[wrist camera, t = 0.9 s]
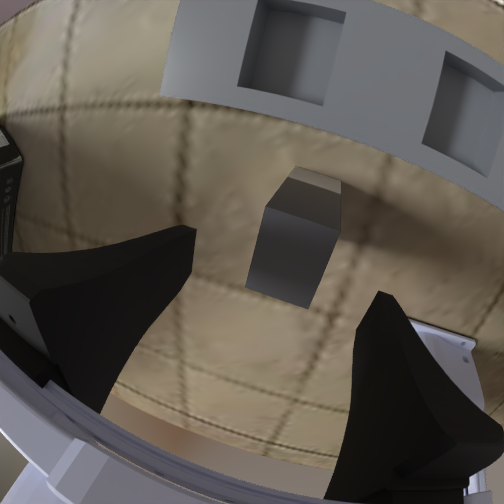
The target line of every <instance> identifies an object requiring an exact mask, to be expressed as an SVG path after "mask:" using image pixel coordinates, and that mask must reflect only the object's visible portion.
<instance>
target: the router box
mask: <svg viewBox="0 0 504 504" xmlns="http://www.w3.org/2000/svg"><path fill="white" fill-rule="evenodd" d="M3 131H4V129H3V128H2V127H1V126H0V257H2V256H3V255H5V254H6V253H8V252H11V250H12V247H11V246H12V234H13V222H14V212H15V204H16V197H17V190H18V184H19V178H20V173H21V168H22V163H23V160H22V158H21V156H20V154H19V153H18V150H17V148H16V147H15V145H14V144H13V141H12V139H11V138H10V137H9V135H8V134H7V133H6V132H5V131H4V132H3Z"/></svg>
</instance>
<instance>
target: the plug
mask: <svg viewBox="0 0 504 504" xmlns="http://www.w3.org/2000/svg"><path fill="white" fill-rule="evenodd" d="M340 229H341V181H339V180H337V179H334V178H331V177H328V176H325V175H322V174H319V173H316V172H313V171H309V170H306V169H303V168H300V167H297V166H295V168H294V169H293V170H292V172H291V173H290V174H289V176H288V177H287V178H286V180H285V181H284V182H283V184H282V185H281V186H280V188H279V189H278V190H277V192H276V193H275V194H274V196H273V197H272V198H271V200H270V201H269V202H268V204H267V205H266V206H265V210H264V214H263V218H262V222H261V226H260V230H259V234H258V238H257V242H256V245H255V249H254V253H253V257H252V261H251V265H250V269H249V273H248V277H247V281H246V285H245V288H248V289H251V290H254V291H257V292H259V293H262V294H265V295H268V296H271V297H274V298H277V299H279V300H282V301H285V302H288V303H291V304H294V305H297V306H300V307H303V308H306V309H308V308H309V306H310V304H311V302H312V299H313V297H314V295H315V292H316V290H317V288H318V285H319V283H320V281H321V278H322V276H323V274H324V271H325V269H326V266H327V264H328V261H329V259H330V257H331V254H332V252H333V249H334V247H335V244H336V242H337V239H338V236H339V234H340Z"/></svg>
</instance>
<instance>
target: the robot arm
mask: <svg viewBox="0 0 504 504" xmlns="http://www.w3.org/2000/svg"><path fill="white" fill-rule="evenodd" d="M196 230H197V229H194V228H191V227H188V226H185V225H178V226H174V227H171V228H167V229H164V230H161V231H158V232H155V233H151V234H148V235H145V236H142V237H139V238H135V239H131V240H128V241H124V242H121V243H117V244H113V245H109V246H104V247H99V248H93V249H87V250H79V251H71V252H60V253H23V252H8V253H6V254H5V255H3V256H2V257H0V431H1V433H3V435H4V436H5V437H6V438H7V439H8V440H9V441H10V442H11V443H12V445H13V446H14V447H15V448H16V449H17V450H18V451H19V452H20V453H21V454H22V455H23V456H24V457H25V458H26V459H27V460H28V461H29V463H28V464H27V466H26V467H25V469H24V470H23V471H22V473H21V474H20V476H19V477H18V479H17V480H16V482H15V483H14V484H13V486H12V487H11V489H10V490H9V492H8V493H7V495H6V496H5V498H4V499H3V501H2V502H1V504H224V503H220V502H217V501H215V500H212V499H209V498H206V497H203V496H201V495H198V494H195V493H193V492H190V491H188V490H185V489H183V488H181V487H178V486H176V485H174V484H171V483H169V482H167V481H164V480H162V479H160V478H158V477H156V476H154V475H152V474H150V473H148V472H146V471H144V470H142V469H140V468H138V467H136V466H135V465H133V464H131V463H129V462H127V461H125V460H124V459H122V458H120V457H118V456H117V455H115V454H113V453H111V452H110V451H108V450H106V449H104V448H103V447H101V446H99V445H98V443H96V441H97V442H99V443H100V444H102V445H104V446H105V447H107V448H108V449H110V450H112V451H113V452H115V453H117V454H118V455H120V456H122V457H123V458H125V459H127V460H129V461H131V462H132V463H134V464H136V465H138V466H140V467H142V468H144V469H146V470H148V471H150V472H152V473H154V474H156V475H158V476H160V477H162V478H164V479H167V480H169V481H171V482H173V483H176V484H178V485H180V486H183V487H185V488H188V489H190V490H192V491H195V492H198V493H200V494H203V495H206V496H208V497H211V498H214V499H217V500H220V501H223V502H226V503H229V504H492V491H491V490H489V491H486V472H485V468H486V467H488V466H489V465H491V464H492V463H493V462H495V461H496V460H497V459H498V458H499V457H501V455H502V454H503V452H504V431H503V427H502V426H501V425H500V424H498V423H497V422H496V421H495V420H493V419H492V418H491V417H490V416H488V415H487V414H486V413H484V397H483V393H482V389H481V385H480V381H479V377H478V374H477V370H476V367H475V364H474V360H473V357H472V354H471V350H472V349H473V348H474V347H475V345H476V343H475V340H474V339H471V338H467V337H464V336H461V335H458V334H455V333H452V332H448V331H445V330H442V329H439V328H436V327H433V326H430V325H427V324H424V323H420V322H417V321H414V320H411V319H408V318H407V316H406V314H405V313H404V311H403V310H402V308H401V306H400V305H399V303H398V302H397V301H396V299H395V298H394V297H393V295H390V294H387V293H384V292H381V291H378V292H377V294H376V296H375V298H374V300H373V301H372V303H371V305H370V307H369V308H368V310H367V312H366V314H365V315H364V317H363V319H362V321H361V322H360V324H359V326H358V327H357V329H356V335H355V341H354V348H353V364H352V389H351V403H350V411H349V416H348V421H347V426H346V431H345V435H344V439H343V443H342V447H341V450H340V454H339V457H338V460H337V463H336V467H335V470H334V473H333V476H332V478H331V481H330V483H329V486H328V488H327V492H326V494H325V496H324V498H323V499H319V498H313V497H307V496H301V495H297V494H292V493H287V492H283V491H279V490H275V489H270V488H266V487H263V486H259V485H256V484H252V483H249V482H245V481H242V480H239V479H236V478H233V477H230V476H227V475H224V474H221V473H218V472H215V471H213V470H210V469H207V468H204V467H202V466H199V465H197V464H195V463H192V462H190V461H187V460H185V459H183V458H180V457H178V456H176V455H174V454H171V453H169V452H167V451H165V450H163V449H161V448H159V447H157V446H154V445H153V444H151V443H149V442H147V441H145V440H143V439H141V438H139V437H137V436H135V435H133V434H131V433H130V432H128V431H126V430H124V429H123V428H121V427H119V426H118V425H116V424H114V423H112V422H111V421H109V420H108V419H106V418H104V417H103V416H101V415H100V413H101V410H102V408H103V406H104V404H105V402H106V400H107V397H108V395H109V393H110V391H111V389H112V387H113V386H114V384H115V382H116V380H117V378H118V376H119V374H120V372H121V371H122V369H123V367H124V365H125V364H126V362H127V360H128V359H129V357H130V355H131V353H132V352H133V350H134V349H135V347H136V346H137V344H138V342H139V341H140V339H141V338H142V336H143V335H144V334H145V332H146V331H147V330H148V328H149V327H150V326H151V325H152V323H153V322H154V321H155V320H156V319H157V318H158V316H159V315H160V314H161V313H162V312H163V310H164V309H165V308H166V307H167V306H168V305H169V303H170V302H171V301H172V300H173V299H174V297H175V296H176V295H177V294H178V293H179V291H180V290H181V288H182V287H183V285H184V284H185V282H186V281H187V279H188V277H189V276H190V274H191V272H192V263H193V255H194V246H195V238H196ZM90 437H91V438H90ZM92 438H93V439H94V440H96V441H94V440H93V439H92Z"/></svg>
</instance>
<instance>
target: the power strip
mask: <svg viewBox="0 0 504 504" xmlns="http://www.w3.org/2000/svg"><path fill="white" fill-rule="evenodd" d="M160 96H165V97H173V98H181V99H188V100H195V101H201V102H207V103H213V104H219V105H224V106H229V107H234V108H239V109H244V110H249V111H253V112H257V113H262V114H266V115H270V116H274V117H278V118H282V119H286V120H290V121H293V122H297V123H301V124H304V125H307V126H311V127H314V128H318V129H321V130H324V131H327V132H330V133H333V134H337V135H340V136H343V137H345V138H348V139H351V140H354V141H357V142H360V143H362V144H365V145H368V146H371V147H373V148H376V149H378V150H381V151H384V152H386V153H389V154H391V155H394V156H396V157H398V158H401V159H403V160H405V161H408V162H410V163H412V164H415V165H417V166H419V167H421V168H424V169H426V170H428V171H430V172H432V173H434V174H436V175H438V176H441V177H443V178H445V179H447V180H449V181H451V182H453V183H455V184H456V185H458V186H460V187H462V188H464V189H466V190H468V191H470V192H472V193H473V194H475V195H477V196H479V197H481V198H482V199H484V200H486V201H488V202H489V203H491V204H493V205H494V206H496V207H498V208H499V209H501V210H503V211H504V66H503V65H502V64H500V63H499V62H498V61H496V60H495V59H493V58H492V57H490V56H489V55H487V54H485V53H484V52H482V51H481V50H479V49H477V48H476V47H474V46H472V45H471V44H469V43H467V42H465V41H464V40H462V39H460V38H458V37H456V36H455V35H453V34H451V33H449V32H447V31H445V30H443V29H441V28H439V27H437V26H435V25H433V24H431V23H428V22H426V21H424V20H422V19H419V18H417V17H415V16H412V15H410V14H407V13H405V12H402V11H400V10H397V9H394V8H392V7H389V6H386V5H383V4H380V3H377V2H374V1H371V0H180V3H179V7H178V11H177V15H176V18H175V22H174V27H173V31H172V35H171V39H170V44H169V48H168V53H167V58H166V63H165V68H164V73H163V79H162V85H161V90H160Z"/></svg>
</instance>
